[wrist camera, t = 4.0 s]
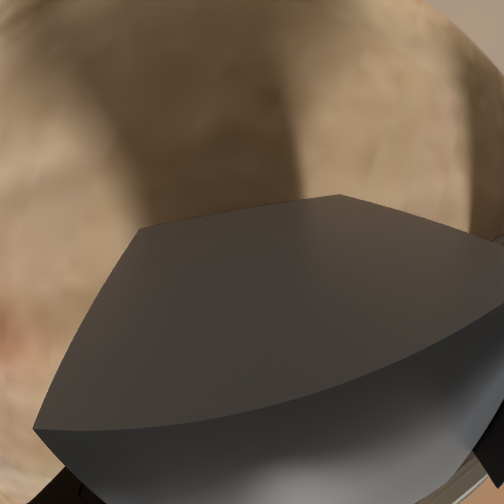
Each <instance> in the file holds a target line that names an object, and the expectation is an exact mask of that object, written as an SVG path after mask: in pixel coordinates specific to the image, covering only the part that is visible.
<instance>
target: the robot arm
mask: <svg viewBox="0 0 504 504" xmlns="http://www.w3.org/2000/svg"><path fill="white" fill-rule="evenodd" d="M472 451H473V453H474V454H475V456H476V457H477V459H478V460H479V462H480V463H481V465H482V466H483V468H484V469H485V471H486V472H487V474H488V475H489V477H490V478H491V480H492V482H493V483H494V484H495V486H496V487H497V488H498V489H499V488H500V487H501V486H502V485H503V484H504V399H503V401H502V403H501V404H500V406H499V408H498V410H497V412H496V413H495V415H494V417H493V418H492V420H491V422H490V423H489V425H488V427H487V428H486V430H485V431H484V433H483V434H482V436H481V437H480V439H479V440H478V442H477V443H476V445H475V446H474V448H473V449H472ZM27 504H106V503H105V502H104V501H103V500H102V499H100V498H99V497H98V496H97V495H96V494H94V493H93V492H92V491H91V490H90V489H89V488H88V487H87V486H86V485H84V484H83V483H82V482H81V481H80V480H79V479H78V478H77V477H76V476H75V475H74V474H73V473H72V472H71V471H70V470H69V469H68V468H67V467H66V466H65V467H64V468H63V469H62V470H61V471H60V472H59V473H58V475H57V476H56V477H55V478H54V479H53V480H52V481H51V482H50V483H49V484H48V485H47V486H46V487H45V488H44V489H43V490H42V491H41V492H40V493H39V494H38V495H36V496H35V497H34V498H33V499H32V500H31V501H30V502H28V503H27Z"/></svg>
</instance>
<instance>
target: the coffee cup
mask: <svg viewBox="0 0 504 504" xmlns="http://www.w3.org/2000/svg"><path fill="white" fill-rule="evenodd" d="M488 477H489V475H488V474H487V472H486V471H485V469H484V468H483V466H482V465H481V463H480V462H479V460H478V459H477V457H476V456H475V454H474V453H473V451H471V452H470V453H469V455H468V456H467V458H466V459H465V460H464V462H463V463H462V464H461V466H460V467H459V468H458V469H457V471H456V472H455V473H454V474H453V476H452V477H451V478H450V479H449V481H448V482H447V483H445V484H444V485H443V486H441V487H440V488H438V489H437V490H435V491H434V492H432V493H431V494H429V495H428V496H426V497H424V498H423V499H421V500H420V501H418V502H416V503H415V504H459V503H461V502H462V501H463V500H464V499H466V498H467V497H468V496H469V495H470V494H471V493H472V492H474V491H475V490H476V489H477V488H478V487H479V486H480V485H481V484H482V483H483V482H484V481H485V480H486V479H487V478H488Z"/></svg>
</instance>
